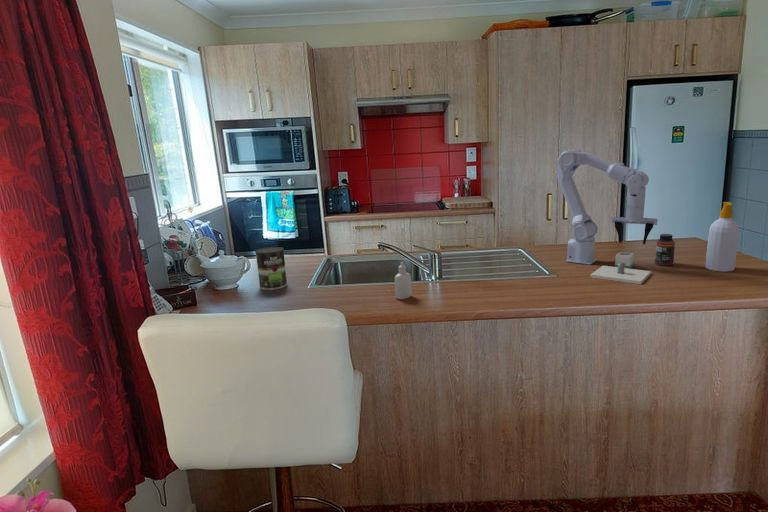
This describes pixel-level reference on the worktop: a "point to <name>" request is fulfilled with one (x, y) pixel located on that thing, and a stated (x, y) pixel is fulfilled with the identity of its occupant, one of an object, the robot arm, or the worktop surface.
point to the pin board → (621, 274)
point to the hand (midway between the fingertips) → (632, 243)
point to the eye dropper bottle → (402, 283)
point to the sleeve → (624, 259)
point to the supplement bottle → (665, 250)
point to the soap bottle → (722, 242)
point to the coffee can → (271, 268)
